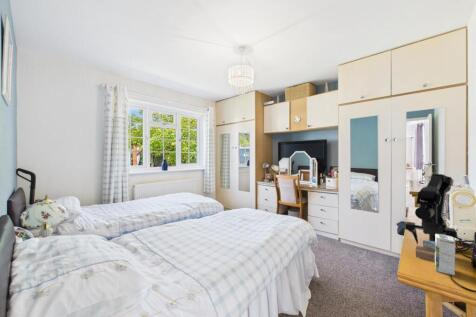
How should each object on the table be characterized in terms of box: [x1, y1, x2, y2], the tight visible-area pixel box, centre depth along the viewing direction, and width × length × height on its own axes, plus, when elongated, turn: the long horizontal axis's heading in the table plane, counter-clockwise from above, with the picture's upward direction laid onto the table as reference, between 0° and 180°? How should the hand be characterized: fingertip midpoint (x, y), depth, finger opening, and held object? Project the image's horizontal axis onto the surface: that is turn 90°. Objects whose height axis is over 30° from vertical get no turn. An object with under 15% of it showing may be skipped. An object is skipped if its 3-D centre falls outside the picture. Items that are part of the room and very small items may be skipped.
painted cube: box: [422, 239, 435, 249], centre depth 103 cm, size 5×5×5 cm
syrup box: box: [434, 234, 456, 276], centre depth 88 cm, size 6×6×14 cm
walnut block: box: [415, 245, 435, 263], centre depth 100 cm, size 7×7×4 cm
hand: (429, 246), depth 103 cm, fingers open, 9 cm apart
